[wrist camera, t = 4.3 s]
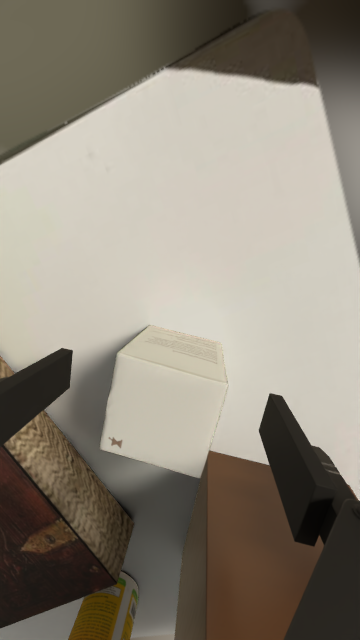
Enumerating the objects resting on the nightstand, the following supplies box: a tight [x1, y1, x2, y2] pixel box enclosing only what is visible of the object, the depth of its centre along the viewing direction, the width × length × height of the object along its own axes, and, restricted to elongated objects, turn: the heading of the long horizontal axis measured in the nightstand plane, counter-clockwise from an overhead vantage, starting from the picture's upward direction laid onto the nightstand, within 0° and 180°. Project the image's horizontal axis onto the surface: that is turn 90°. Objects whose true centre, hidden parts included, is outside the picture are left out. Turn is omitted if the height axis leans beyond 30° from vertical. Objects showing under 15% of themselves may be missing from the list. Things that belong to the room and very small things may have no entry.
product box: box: [100, 325, 228, 478], centre depth 16 cm, size 6×6×7 cm
